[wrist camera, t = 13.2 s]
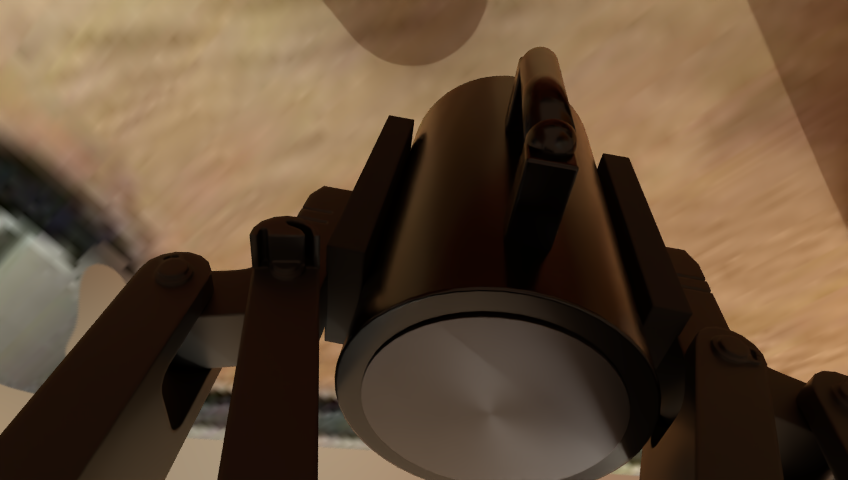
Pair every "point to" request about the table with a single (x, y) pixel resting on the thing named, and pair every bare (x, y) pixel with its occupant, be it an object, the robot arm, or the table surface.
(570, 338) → the silver-capped dark cylinder
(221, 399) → the table surface
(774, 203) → the table surface
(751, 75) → the table surface
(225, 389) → the table surface
